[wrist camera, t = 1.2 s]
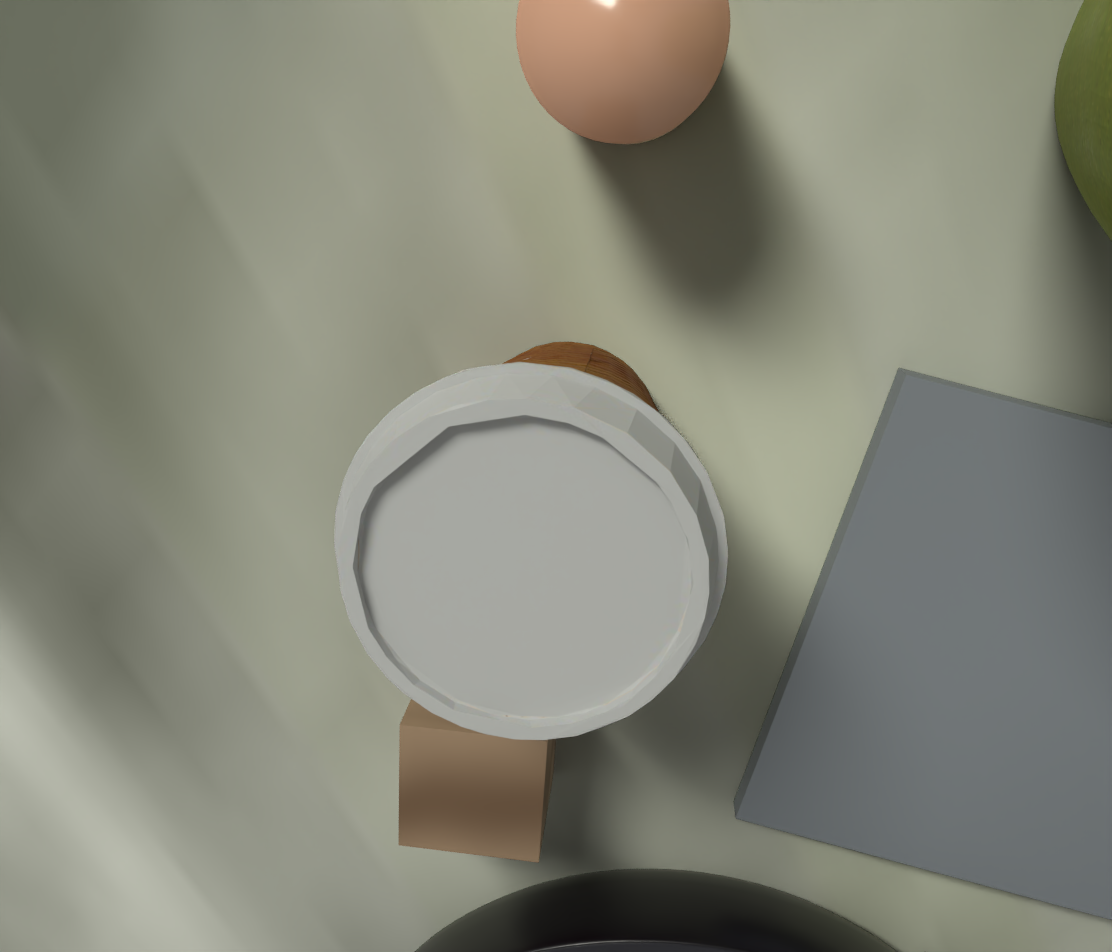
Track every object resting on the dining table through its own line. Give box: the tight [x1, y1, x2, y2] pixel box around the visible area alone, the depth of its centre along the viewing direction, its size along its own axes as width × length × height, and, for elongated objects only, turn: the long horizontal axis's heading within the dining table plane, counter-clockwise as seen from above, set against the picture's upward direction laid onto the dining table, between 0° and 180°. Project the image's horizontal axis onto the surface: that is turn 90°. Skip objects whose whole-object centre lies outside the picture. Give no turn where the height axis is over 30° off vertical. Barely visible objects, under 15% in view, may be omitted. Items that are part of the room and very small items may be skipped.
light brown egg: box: [516, 0, 730, 144], centre depth 25 cm, size 5×5×7 cm
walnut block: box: [399, 699, 556, 863], centre depth 35 cm, size 5×5×5 cm
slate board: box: [734, 368, 1112, 920], centre depth 33 cm, size 18×16×1 cm
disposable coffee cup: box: [334, 342, 728, 740], centre depth 27 cm, size 10×10×12 cm
